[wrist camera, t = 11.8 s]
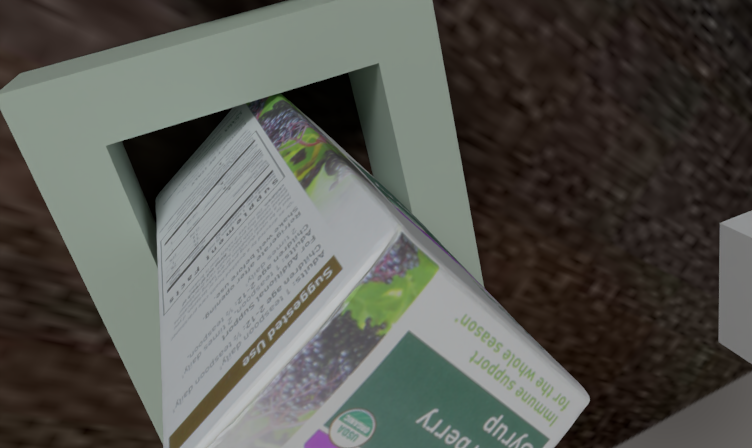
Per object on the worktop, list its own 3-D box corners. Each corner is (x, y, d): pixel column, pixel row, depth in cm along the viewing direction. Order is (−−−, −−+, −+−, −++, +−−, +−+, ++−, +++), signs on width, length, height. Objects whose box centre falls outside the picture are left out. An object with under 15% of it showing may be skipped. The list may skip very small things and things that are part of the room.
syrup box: (372, 175, 25) (618, 393, 12) (270, 289, 25) (403, 622, 12) (258, 72, 22) (418, 213, 9) (145, 202, 23) (150, 511, 10)
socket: (382, -26, 22) (427, -25, 19) (444, 272, 27) (489, 317, 24) (20, 73, 20) (-7, 95, 16) (161, 380, 25) (164, 448, 21)
